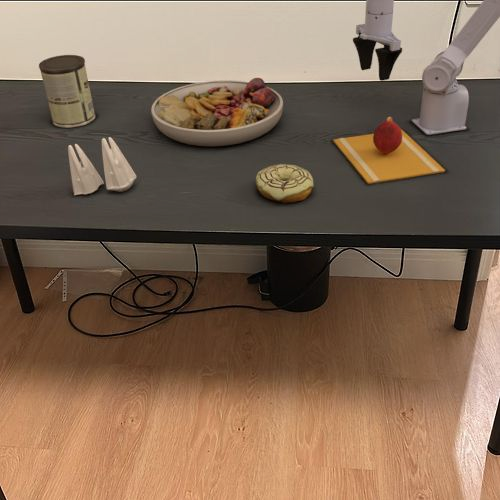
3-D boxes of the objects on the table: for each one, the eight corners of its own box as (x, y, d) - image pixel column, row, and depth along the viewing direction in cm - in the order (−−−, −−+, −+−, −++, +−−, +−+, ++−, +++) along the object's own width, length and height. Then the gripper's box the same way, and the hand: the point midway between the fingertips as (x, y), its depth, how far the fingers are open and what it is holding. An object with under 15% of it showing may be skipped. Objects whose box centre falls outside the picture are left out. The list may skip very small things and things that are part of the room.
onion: (400, 161, 127) (404, 124, 123) (371, 159, 128) (374, 123, 124) (400, 148, 132) (404, 112, 127) (372, 147, 133) (375, 111, 128)
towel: (401, 131, 140) (402, 129, 139) (445, 172, 124) (445, 169, 123) (333, 141, 137) (333, 139, 137) (367, 184, 121) (368, 182, 121)
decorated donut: (279, 212, 114) (278, 194, 112) (245, 189, 121) (244, 171, 119) (323, 194, 118) (324, 176, 116) (289, 172, 126) (288, 155, 124)
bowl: (207, 166, 130) (204, 130, 125) (129, 124, 149) (123, 92, 144) (310, 122, 145) (310, 89, 141) (227, 90, 164) (225, 60, 160)
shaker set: (138, 184, 125) (130, 132, 118) (134, 194, 121) (125, 142, 115) (78, 185, 125) (67, 133, 119) (73, 196, 122) (60, 143, 116)
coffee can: (50, 115, 156) (37, 58, 148) (92, 108, 158) (82, 52, 150) (53, 131, 148) (39, 72, 140) (98, 123, 150) (86, 65, 142)
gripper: (345, 6, 138) (342, 67, 146) (382, 22, 127) (377, 87, 135) (373, 2, 140) (369, 62, 148) (411, 17, 129) (405, 81, 137)
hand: (374, 74), depth 141 cm, fingers open, 7 cm apart
